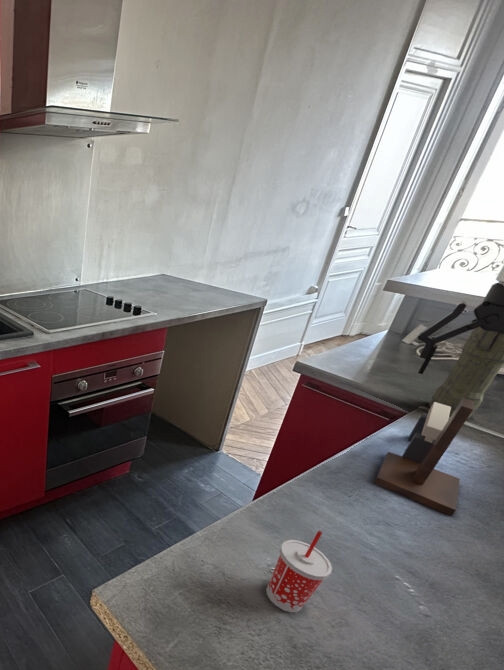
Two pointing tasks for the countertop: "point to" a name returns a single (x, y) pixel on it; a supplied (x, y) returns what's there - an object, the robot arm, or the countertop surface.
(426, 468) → the headphone stand
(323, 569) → the beverage cup
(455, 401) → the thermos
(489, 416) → the countertop surface
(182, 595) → the countertop surface
